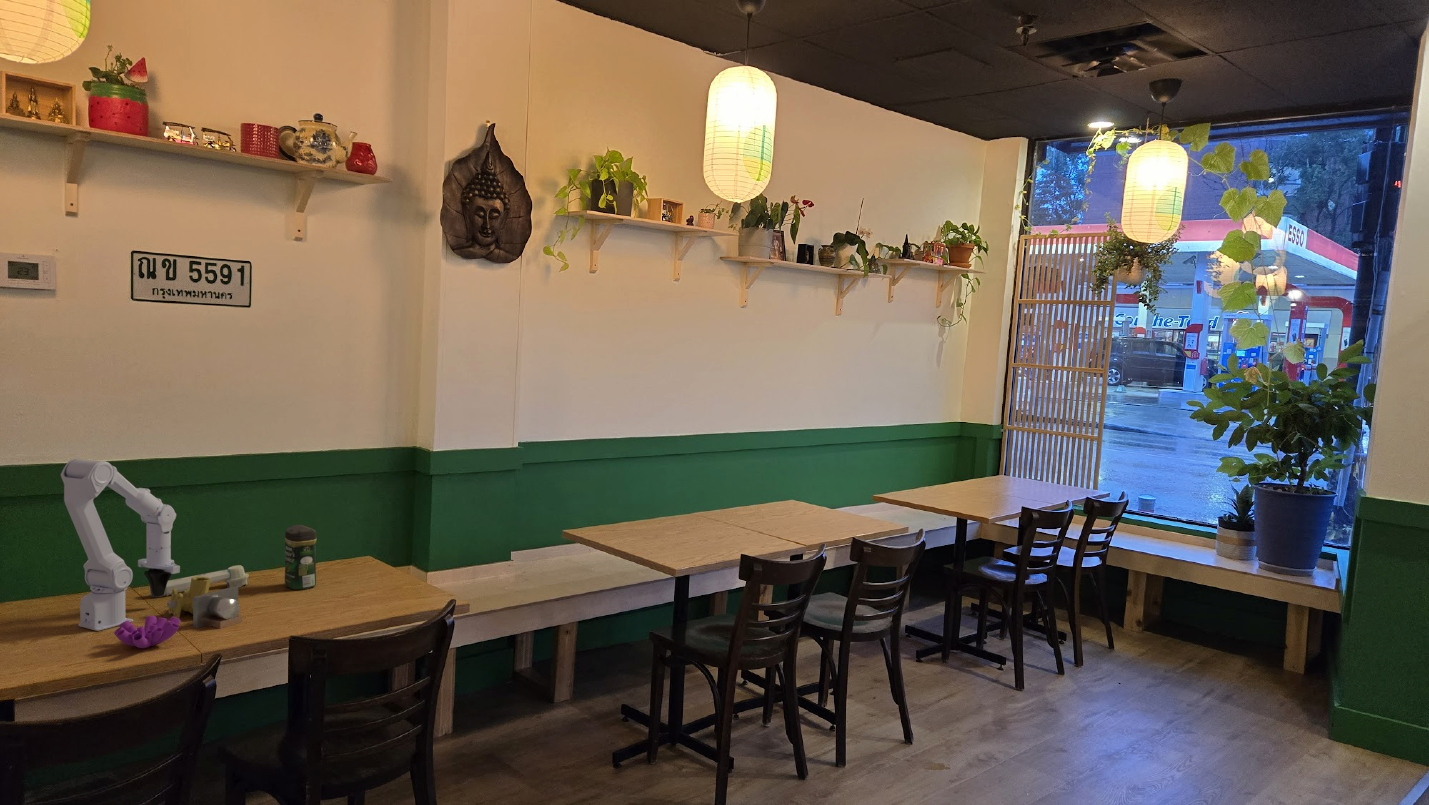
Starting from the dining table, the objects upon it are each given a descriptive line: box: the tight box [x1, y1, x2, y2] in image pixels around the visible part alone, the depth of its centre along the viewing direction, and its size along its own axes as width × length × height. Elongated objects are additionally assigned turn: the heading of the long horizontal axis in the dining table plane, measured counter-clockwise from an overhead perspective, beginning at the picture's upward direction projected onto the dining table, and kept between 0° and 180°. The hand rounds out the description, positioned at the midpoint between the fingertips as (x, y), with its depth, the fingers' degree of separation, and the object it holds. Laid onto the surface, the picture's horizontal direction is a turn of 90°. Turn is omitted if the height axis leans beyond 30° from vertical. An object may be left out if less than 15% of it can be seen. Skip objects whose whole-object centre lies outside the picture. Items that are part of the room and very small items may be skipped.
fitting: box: [192, 586, 243, 629], centre depth 244 cm, size 12×7×8 cm, turn 156°
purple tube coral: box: [113, 615, 181, 649], centre depth 226 cm, size 11×15×10 cm
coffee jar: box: [284, 524, 318, 591], centre depth 280 cm, size 10×8×19 cm
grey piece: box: [149, 564, 250, 599], centre depth 272 cm, size 5×7×25 cm
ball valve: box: [166, 575, 211, 619], centre depth 250 cm, size 13×10×10 cm
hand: (158, 595), depth 255 cm, fingers closed
